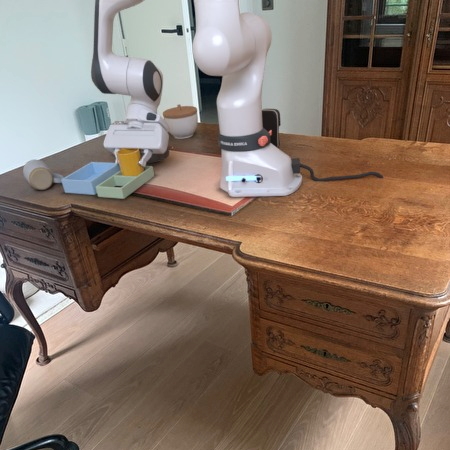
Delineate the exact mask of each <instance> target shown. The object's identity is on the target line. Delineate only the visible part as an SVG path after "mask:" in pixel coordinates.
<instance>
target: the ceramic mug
mask: <svg viewBox="0 0 450 450" xmlns="http://www.w3.org/2000/svg"><path fill="white" fill-rule="evenodd" d="M22 173H23V177H24V178H25V180H26V181H27V183H29V185H30V186H31V187H32V188H34V189H35V190H38V191H46V190H48V189H50V188H51V186H53V184H62V182H61V179H63V178H65V176H63V175H62V174H59V173H56V172H54V171H53V172H52V170H51V169H50V167H49V166H48V165H47V164H46V163H45V162H44V161H43V160H41V159H40V160H39V159H36V158H35V159H30V160H28V161H27V162H26V163H25V164H24V166H23V169H22Z"/></svg>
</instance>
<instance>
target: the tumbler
mask: <svg viewBox="0 0 450 450" xmlns="http://www.w3.org/2000/svg"><path fill="white" fill-rule="evenodd" d="M116 154H117V158H118V162H119V166H120V170H121V174H122V176H138V175H139V174H141V173H142V172H144V168H143V167H140V166H139V165H138V162H139V159H141V154H140V150H139V149H125V148H123V149H120V150H118V151H117V152H116Z"/></svg>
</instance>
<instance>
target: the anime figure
mask: <svg viewBox="0 0 450 450" xmlns="http://www.w3.org/2000/svg"><path fill="white" fill-rule="evenodd" d="M110 153H111V154H112V155H113V156H115V153H114V152H110ZM140 154H141V159H142V157H143V156H144V153H140ZM169 156H170V148H169V146H167V150H166V151H165V153H163V154H154V153H152V155H151V157H150V159H149V160H148V161H147V162H146V163H152V164H153V163H156V162H157V163H158V162H160V161H164V160H166V159H167V158H169Z"/></svg>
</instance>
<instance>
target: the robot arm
mask: <svg viewBox="0 0 450 450" xmlns="http://www.w3.org/2000/svg"><path fill="white" fill-rule="evenodd" d="M144 1H145V0H94V15H93V48H92V49H93V50H92V60H91V69H90V70H91V71H90V77H91V81H92V83H93V85H94V86H95V87H96V88H97V90H98V91H100V93H101V94H104V95H123V96H129V97H130V101H129V102H128V104H127V106H126V111H125V116H124V120H122V121H121V120H120V121H119V120H115V121H114V122H112V123H111V124H110V125H109V127H108V129H107V131H106V133H105V137H104V140H103V147H104V149H105V150H107V151H108V152H110V153H111V152H114V153H115V155H114V156H115V160H114V161H115V162H114V163H115V164H116V165H117V166H119V162H118V158H117V154H116V152H117V151H118V150H120V149H123V148H125V149H139V150H140V153H144V156H143V157H142V159H139V162H138V165H139V166H140V167H145V166H147V163H148V162H147V161H148V160H149V159H150V157H151V155H152V153H154V154H163V153H165V151H166V150H167V146H168V145H169V138H170V135H169V134H170V133H169V129H170V126H169V125H168V124H167V122H166V121H165V120H164V117H163V116H161V115H160V114H159V113H158V108H159V106H160V105H161V101H162V96H163V88H164V87H163V86H164V75H163V72H162V70H161V69H160V68H159V67H158V66H156V65H155V63H153V61H151V59H150V60H149V59H147V58H146V59H145V58H141V57H140V58H139V57H129V56H122V55H117V54H115V53H114V52H113V38H114V37H113V35H114V21H115V18H116V16H117V14H118V13H120V12H122V11H124V10H128V9H130V8H132V7H133V8H134V7H135V6H137V5H139V4H142V3H143V2H144ZM193 6H194V12H195V14H194V15H195V34H194V38H193V41H192V45H191V46H192V47H191V48H192V50H191V51H192V57H193V59H194V63H195V64H196V66H197V68H198V69H199V70H200V71H201V72H202V73H204V74H206V75H208V76H213V77H222V78H221V84H220V85H221V86H220V89H219V91H218V94H217V97H216V110H217V111H216V112H217V120H218V129H219V132H218V147H219V153H220V154H221V168H220V169H221V170H220V171H221V172H220V180H219V185H218V186H219V188H220V189H221V190H222V191H224V192H226V193H227V194H228V196H229V197H232V198H244V197H246V198H247V197H250V198H251V197H288V196H289V195H291V194H293V193H295V192H296V191H297V190H298V189H300V187H301V186H302V183H303V175H302V174H301V169H305V170H307V171H308V172H309V175H310V178H311V179H312V180H313V181H314V182H329V181H342V180H353V179H361V178H366V177H369V176H376V177H377V178H379V179H384V176H383V175H382V174H381V173H379V172H377V171H368V172H364V173H359V174H351V175H350V174H349V175H339V176H338V175H337V176H329V177H323V178H319V177H316V176H315V173H314V170H313V169H312V167H311V166H309V165H306V164H303V163H301V159H300V157H295V158H294V157H293V158H292V157H291V156H289V155H288V154H286V153H285V152H284V151H282V150H281V149H279V148H278V147H275V146H274V145H273V144H271V143H270V136H271V135H272V133H271V132H272V130H270V131H269V132H268V131H267V130H265V129H264V128H263V125H262V110H263V105H262V102H263V101H262V95H263V94H262V93H263V82H264V76H265V68H266V61H267V56H268V53H269V50H270V48H271V45H272V41H273V40H272V35H273V34H272V29H271V26H270V24H269V22H268V21H267V20H266V19H265V18H264V17H263V16H261V15H259V14H256V13H252V12H241V10H240V0H193ZM168 147H169V146H168Z"/></svg>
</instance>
